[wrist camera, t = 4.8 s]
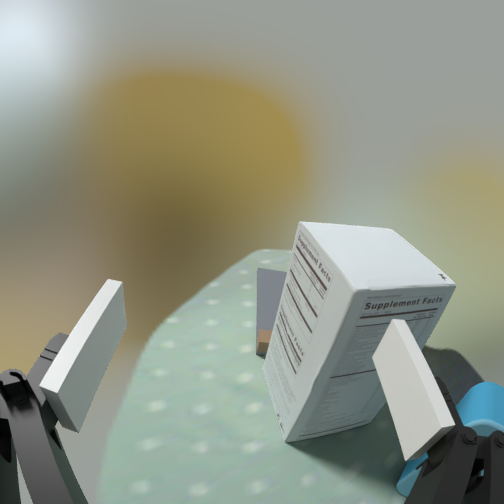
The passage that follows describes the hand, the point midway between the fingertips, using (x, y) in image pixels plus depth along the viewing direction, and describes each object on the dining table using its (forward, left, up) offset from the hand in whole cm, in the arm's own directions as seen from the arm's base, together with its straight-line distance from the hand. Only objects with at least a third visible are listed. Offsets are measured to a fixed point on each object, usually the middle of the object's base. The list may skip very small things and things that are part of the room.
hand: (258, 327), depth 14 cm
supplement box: (+7, -8, -15) cm, 19 cm away
